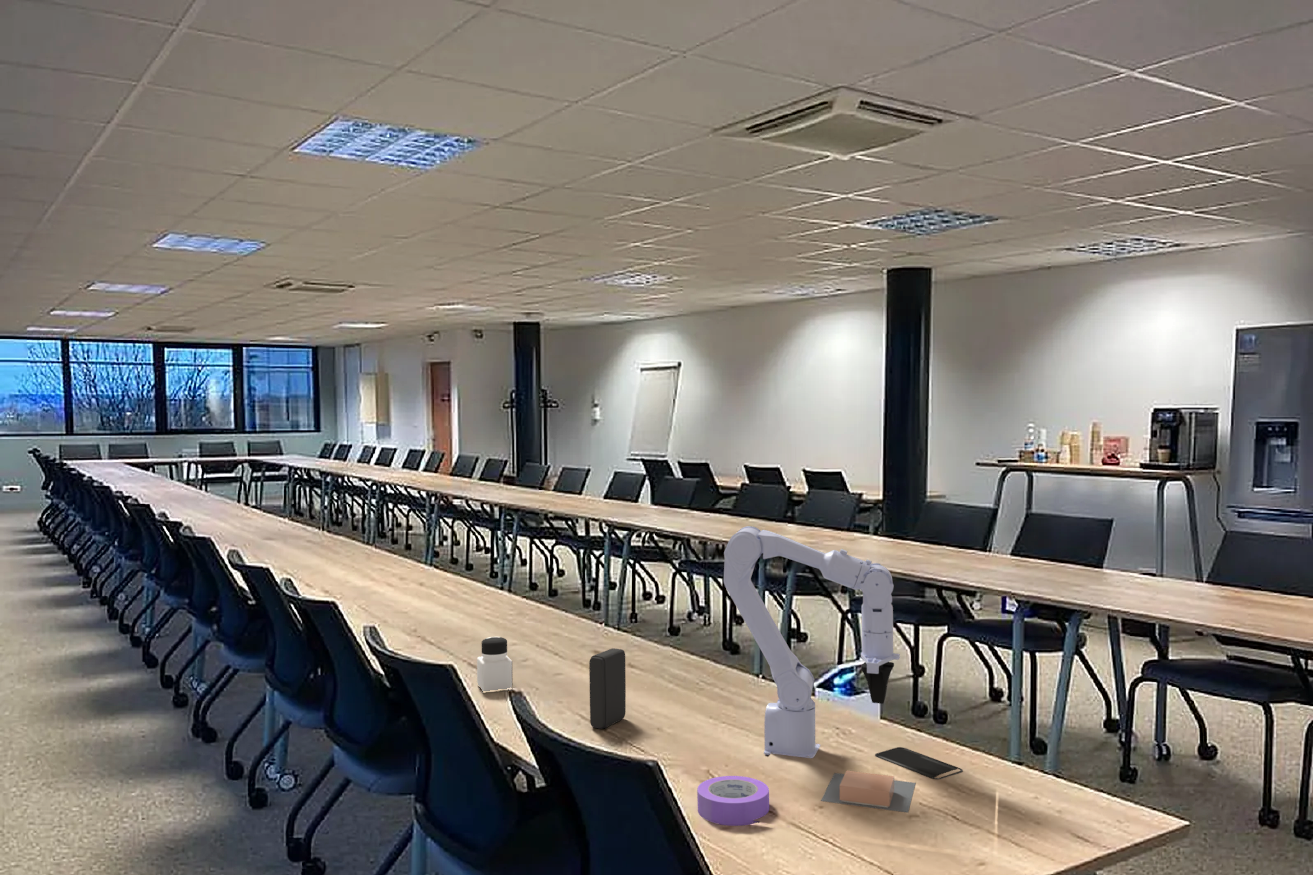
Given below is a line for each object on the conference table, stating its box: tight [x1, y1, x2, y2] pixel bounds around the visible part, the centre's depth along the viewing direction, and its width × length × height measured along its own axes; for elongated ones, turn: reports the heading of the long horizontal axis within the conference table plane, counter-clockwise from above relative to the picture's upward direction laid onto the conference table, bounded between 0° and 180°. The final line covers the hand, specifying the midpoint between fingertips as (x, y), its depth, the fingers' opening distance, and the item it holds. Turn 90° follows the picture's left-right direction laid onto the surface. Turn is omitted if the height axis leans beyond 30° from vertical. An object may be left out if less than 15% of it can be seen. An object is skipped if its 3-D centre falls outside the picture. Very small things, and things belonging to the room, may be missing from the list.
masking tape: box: [696, 775, 770, 827], centre depth 153 cm, size 12×12×4 cm
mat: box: [820, 772, 916, 813], centre depth 159 cm, size 14×13×1 cm
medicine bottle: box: [476, 636, 514, 692], centre depth 225 cm, size 7×7×12 cm
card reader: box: [588, 647, 627, 730], centre depth 198 cm, size 9×4×15 cm, turn 149°
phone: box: [874, 746, 964, 780], centre depth 172 cm, size 8×1×15 cm
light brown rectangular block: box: [840, 770, 895, 808], centre depth 157 cm, size 8×3×7 cm
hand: (878, 702), depth 176 cm, fingers closed
